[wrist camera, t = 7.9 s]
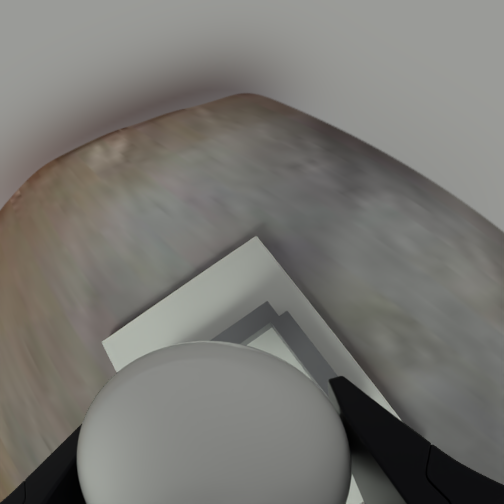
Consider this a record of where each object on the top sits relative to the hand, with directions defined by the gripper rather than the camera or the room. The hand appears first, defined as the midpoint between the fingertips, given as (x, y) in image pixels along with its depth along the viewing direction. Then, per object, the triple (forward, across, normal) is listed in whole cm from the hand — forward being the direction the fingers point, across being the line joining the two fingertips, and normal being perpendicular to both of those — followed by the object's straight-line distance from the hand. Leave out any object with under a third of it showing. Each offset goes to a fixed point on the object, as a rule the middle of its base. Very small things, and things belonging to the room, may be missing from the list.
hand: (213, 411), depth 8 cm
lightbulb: (+4, 0, +6) cm, 7 cm away
